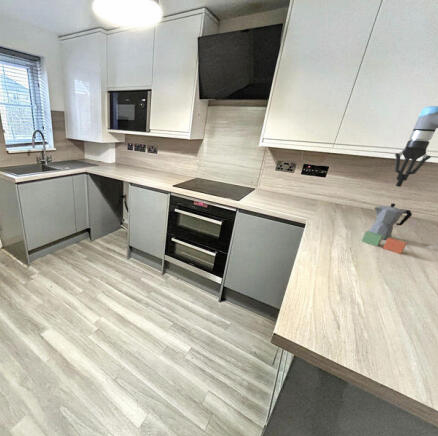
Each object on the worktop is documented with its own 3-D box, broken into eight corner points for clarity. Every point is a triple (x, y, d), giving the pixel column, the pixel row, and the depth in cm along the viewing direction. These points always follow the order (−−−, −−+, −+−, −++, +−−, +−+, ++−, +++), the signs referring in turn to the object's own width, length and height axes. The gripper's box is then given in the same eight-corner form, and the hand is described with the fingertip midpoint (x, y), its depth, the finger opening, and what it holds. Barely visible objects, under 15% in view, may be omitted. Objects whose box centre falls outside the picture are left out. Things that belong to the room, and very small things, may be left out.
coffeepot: (368, 237, 120) (383, 204, 114) (358, 230, 129) (372, 199, 122) (405, 243, 116) (423, 209, 110) (393, 235, 125) (409, 203, 118)
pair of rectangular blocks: (402, 252, 106) (407, 242, 104) (400, 254, 105) (405, 244, 103) (363, 239, 117) (367, 230, 115) (361, 241, 115) (365, 231, 113)
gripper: (435, 141, 117) (413, 187, 126) (399, 139, 124) (380, 183, 133) (440, 141, 112) (417, 189, 120) (402, 139, 119) (383, 184, 127)
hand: (398, 186), depth 127 cm, fingers closed
